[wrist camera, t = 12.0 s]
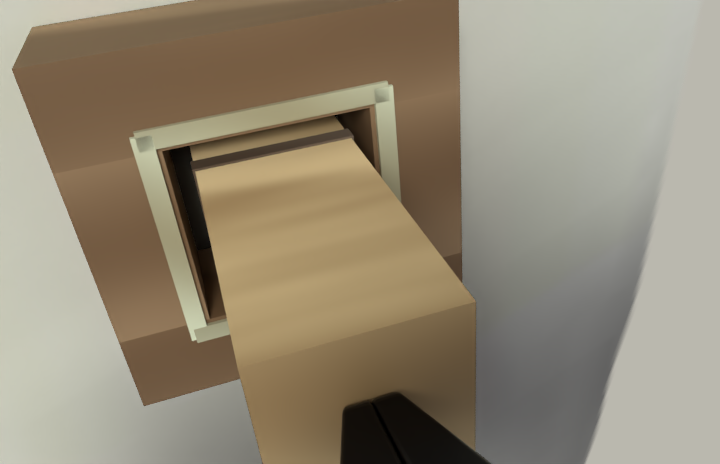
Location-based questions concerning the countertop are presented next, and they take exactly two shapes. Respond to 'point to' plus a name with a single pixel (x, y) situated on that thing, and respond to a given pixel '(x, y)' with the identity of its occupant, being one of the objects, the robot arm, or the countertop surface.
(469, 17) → the countertop surface
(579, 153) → the countertop surface
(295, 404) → the peg
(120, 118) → the board
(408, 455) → the robot arm
